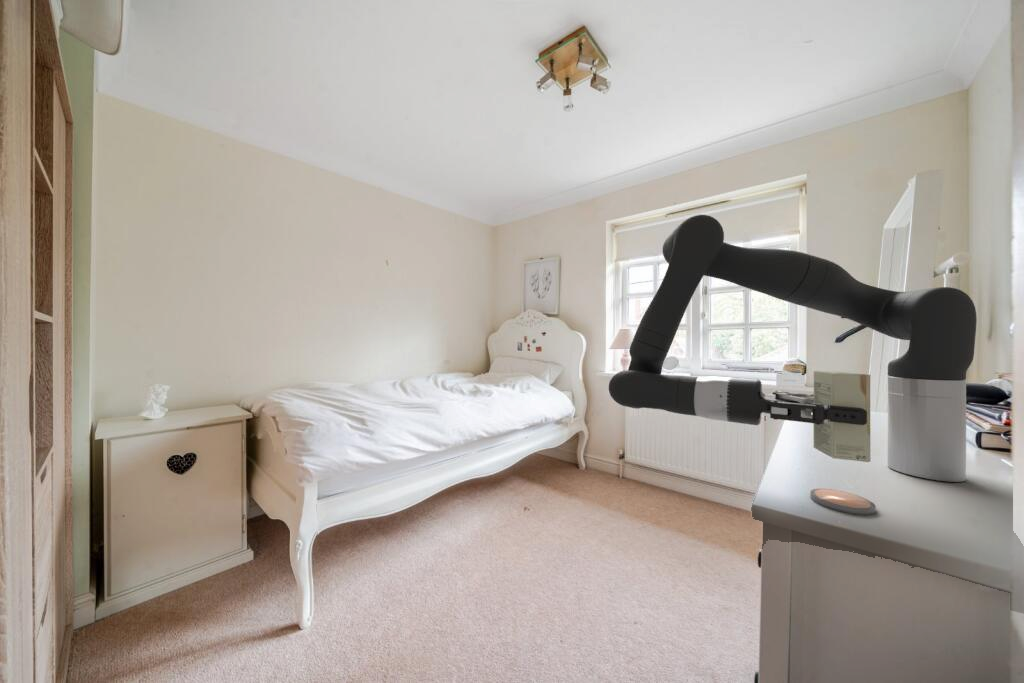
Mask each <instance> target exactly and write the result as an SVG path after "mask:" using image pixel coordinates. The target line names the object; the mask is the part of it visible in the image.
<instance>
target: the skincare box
mask: <svg viewBox="0 0 1024 683" xmlns="http://www.w3.org/2000/svg"><path fill="white" fill-rule="evenodd" d="M813 394H814V403H825V404H827V405H829V406H830V405H834V406H844V407H855V408H863V409H865V410H866V411H867V423H866V424H865V425H857V424H848V423H839V422H831V421H829V422H825V423H824V424H820V425H819V424H816V423H813V449H815V450H817V451H819V452H821V453H822V454H825V455H826V456H828V457H830V458H832V459H837V460H844V461H845V460H846V461H857V462H866V463H869V462H871V374H868V373H867V374H866V373H858V372H848V371H837V370H813Z"/></svg>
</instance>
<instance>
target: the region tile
mask: <svg viewBox="0 0 1024 683" xmlns="http://www.w3.org/2000/svg"><path fill="white" fill-rule="evenodd" d="M809 495H810V499H811V500H812V499H813V500H814V501H813V500H812V501H813V502H815V503H816V502H817V504H819V505H821V506H823V507H826V508H827V509H830V510H833V511H838V512H842V513H844V514H851V515H857V516H858V515H859V516H871V515H874V514H876V512H877V511H876V509H877V506H876V504H875V503H874V502H872V501H871V500H869V499H867V498H865V497H862V496H860V495H858V494H854V493H851V492H848V491H847V492H846V491H842V490H839V489H838V490H837V489H830V488H814V489H811V490H810V492H809Z"/></svg>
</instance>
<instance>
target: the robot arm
mask: <svg viewBox="0 0 1024 683" xmlns="http://www.w3.org/2000/svg"><path fill="white" fill-rule="evenodd" d="M724 234H725V231H724V229H723V226H722V224H721V223H720V222H719V220H718V219H716V218H715V217H713V216H711V215H708V214H696V215H692V216H690V217H688V218H686V219H684V220H682V221H681V222H680V223H679V224H678V225H676V227H675V228H674V229H673V230H672V232H670V234H669V235H668V236H667V237H666V239H665V240H664V243H663V245H662V256H663V258H664V259H665V261H666V262H667V264H668V266H667V269H666V272H665V274H664V276H663V279H662V281H661V283H660V285H659V288H657V291H656V293H655V295H654V297H653V298H652V300H651V302H650V303H649V305H648V307H647V308H646V311H644V312H645V313H644V314H643V316H642V318H641V320H640V322H639V324H638V327H637V329H636V330H635V333H634V336H633V338H632V341H631V343H630V347H629V350H628V352H629V356H630V358H631V359H630V362H629V365H628V369H626V370H621V371H619V372H617V373H616V374H614V375H613V376H612V377H611V379H610V380H609V382H608V392H609V395H610V397H611V399H613V401H614V402H615V403H617V404H619V405H621V406H623V407H627V408H631V409H642V408H643V409H644V408H645V409H654V410H661V411H666V412H668V413H674V414H679V415H686V416H693V417H700V418H704V419H709V420H713V421H719V422H720V421H721V422H729V423H736V424H742V425H743V424H744V425H751V426H752V425H753V426H759V425H760V424H761V421H762V413H764V414H769V415H770V416H769V418H770V419H773V420H775V421H776V420H782V421H790V422H800V423H808V424H814V423H816V424H819V425H820V424H824V423H825V422H829V421H831V422H839V423H848V424H857V425H865V424H866V423H867V411H866V410H865V409H863V408H855V407H844V406H834V405H830V406H829V405H827V404H825V403H814V393H813V394H812V393H811V394H807V393H802V392H789V391H785V390H784V391H783V390H776V391H772V394H770V393H769V394H768V393H766V394H765V393H763V389H762V388H763V385H762V382H761V380H760V379H756V378H742V377H741V378H740V377H739V378H738V377H726V376H724V377H723V376H690V375H666V374H665V375H664V374H662V370H663V367H664V362H665V360H666V359H667V355H668V353H669V351H670V348H671V346H672V344H673V341H674V339H675V337H676V334H677V332H678V329H679V327H680V325H681V322H682V320H683V317H684V315H685V313H686V310H687V308H688V306H689V304H690V302H691V300H692V298H693V296H694V294H695V293H696V290H697V288H698V286H699V284H700V283H701V282H702V279H703V277H710V278H714V279H715V278H716V279H719V280H723V281H726V282H729V283H732V284H734V285H738V286H740V287H743V288H746V289H749V290H751V291H755V292H757V293H762V294H765V295H767V296H770V297H772V298H775V299H779V300H781V301H785V302H788V303H791V304H794V305H798V306H802V307H805V308H809V309H811V310H816V311H819V312H822V313H825V314H829V315H834V316H838V317H842V318H844V319H848V320H850V321H853V322H855V323H857V324H859V325H862V326H864V327H867V328H869V329H871V330H874V331H876V332H878V333H880V334H883V335H885V336H887V337H890V338H894V339H897V340H902V341H909V343H908V344H909V345H908V348H907V351H906V352H905V353H904V354H903V355H902V356H900V357H898V358H894V359H892V360H891V361H889V362H888V364H887V468H890V469H891V470H893V471H897V472H900V473H902V474H905V475H909V476H914V477H917V478H922V479H926V480H933V481H940V482H950V483H951V482H952V483H953V482H954V483H960V482H962V483H963V482H966V480H967V372H968V369H969V368H970V367H971V366H972V363H973V360H974V355H975V346H976V335H977V318H978V317H977V310H976V306H975V303H974V301H973V300H972V297H970V296H969V295H968V294H967V293H966V292H965V291H963V290H961V289H958V288H955V287H949V286H945V287H943V286H941V287H939V286H938V287H933V288H932V287H931V288H924V289H923V288H922V289H919V290H909V291H895V290H892V289H891V290H890V289H886V288H885V289H884V288H882V287H877V286H873V285H869V284H866V283H863V282H861V281H859V280H857V279H856V278H855V277H854V276H852V275H851V274H850V273H849V272H848V271H847V270H845V268H843V267H842V266H840V265H839V264H837V263H836V262H834V261H831V260H828V259H826V258H822V257H819V256H816V255H813V254H809V253H805V252H802V251H797V250H793V249H781V248H780V249H779V248H756V247H742V246H738V245H735V244H734V245H733V244H732V243H731V244H730V243H727V242H724V240H725V235H724Z"/></svg>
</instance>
